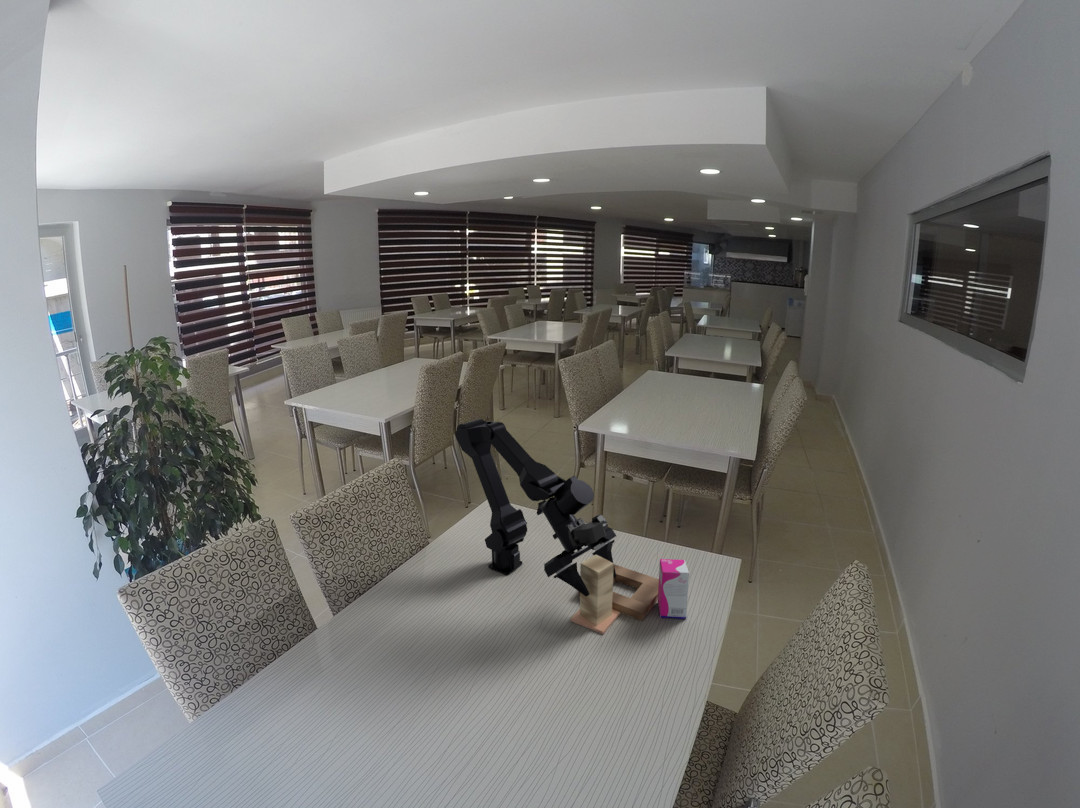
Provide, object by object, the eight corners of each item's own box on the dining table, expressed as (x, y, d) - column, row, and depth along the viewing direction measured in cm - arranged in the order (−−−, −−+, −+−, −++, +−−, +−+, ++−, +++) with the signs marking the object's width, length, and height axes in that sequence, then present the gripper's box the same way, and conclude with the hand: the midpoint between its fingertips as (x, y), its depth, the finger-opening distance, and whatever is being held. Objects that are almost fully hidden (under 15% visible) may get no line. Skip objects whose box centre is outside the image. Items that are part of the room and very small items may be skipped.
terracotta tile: (570, 620, 124) (570, 618, 124) (588, 602, 131) (588, 599, 131) (603, 634, 120) (603, 631, 120) (620, 614, 126) (620, 611, 126)
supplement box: (682, 603, 130) (686, 559, 127) (686, 619, 125) (690, 573, 121) (656, 601, 131) (659, 557, 128) (659, 618, 125) (662, 572, 122)
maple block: (579, 615, 125) (580, 563, 122) (594, 605, 129) (595, 554, 125) (596, 625, 122) (598, 572, 118) (611, 615, 125) (613, 563, 122)
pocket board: (578, 596, 133) (578, 589, 132) (606, 568, 144) (606, 561, 143) (642, 620, 124) (642, 613, 124) (666, 589, 135) (666, 581, 135)
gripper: (554, 522, 115) (595, 593, 110) (611, 494, 127) (650, 556, 123) (527, 543, 122) (564, 610, 118) (583, 514, 135) (619, 573, 131)
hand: (601, 586), depth 122 cm, fingers open, 9 cm apart
